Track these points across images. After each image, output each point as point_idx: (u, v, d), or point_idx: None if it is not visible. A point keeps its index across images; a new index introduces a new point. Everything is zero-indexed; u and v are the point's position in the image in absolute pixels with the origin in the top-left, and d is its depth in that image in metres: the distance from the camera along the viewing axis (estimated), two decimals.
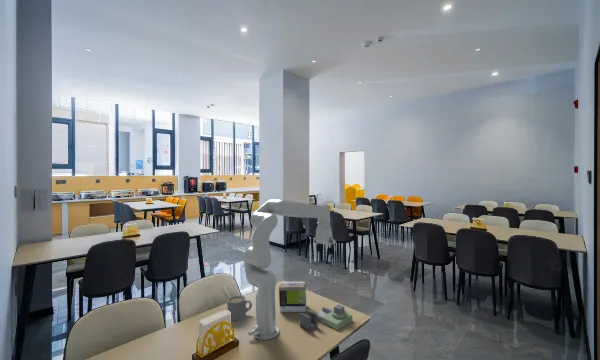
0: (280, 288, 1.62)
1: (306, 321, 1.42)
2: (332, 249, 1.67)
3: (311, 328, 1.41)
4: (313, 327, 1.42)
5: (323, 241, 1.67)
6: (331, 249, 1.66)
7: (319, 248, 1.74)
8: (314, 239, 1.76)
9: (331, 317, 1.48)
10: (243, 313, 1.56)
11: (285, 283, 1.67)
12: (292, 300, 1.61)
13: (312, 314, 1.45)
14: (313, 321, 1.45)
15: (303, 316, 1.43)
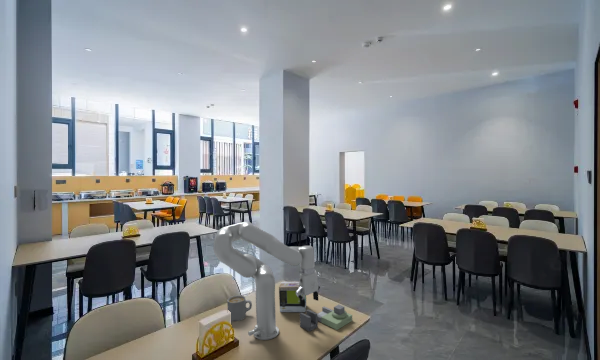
0: (280, 288, 1.62)
1: (306, 321, 1.42)
2: None
3: (311, 328, 1.41)
4: (313, 327, 1.42)
5: (314, 288, 1.44)
6: (317, 293, 1.49)
7: None
8: (298, 294, 1.39)
9: (331, 317, 1.48)
10: (243, 313, 1.56)
11: (285, 283, 1.67)
12: (292, 300, 1.61)
13: (312, 314, 1.45)
14: (313, 321, 1.45)
15: (303, 316, 1.43)
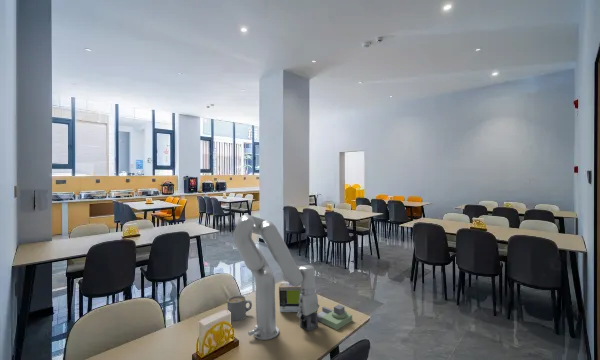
0: (280, 288, 1.62)
1: (306, 320, 1.42)
2: None
3: (311, 328, 1.41)
4: (313, 327, 1.42)
5: (314, 309, 1.44)
6: None
7: None
8: (299, 316, 1.40)
9: (331, 317, 1.48)
10: (243, 313, 1.56)
11: (285, 283, 1.67)
12: (292, 300, 1.61)
13: (312, 314, 1.45)
14: (313, 321, 1.45)
15: (303, 316, 1.43)
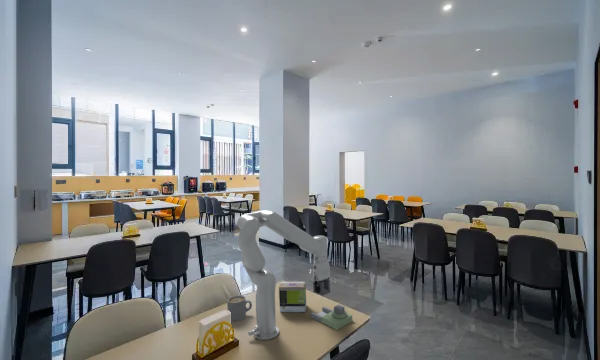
0: (280, 288, 1.62)
1: (320, 286, 1.52)
2: None
3: (324, 293, 1.52)
4: (326, 292, 1.53)
5: (327, 275, 1.55)
6: None
7: None
8: (313, 281, 1.51)
9: (331, 317, 1.48)
10: (243, 313, 1.56)
11: (285, 283, 1.67)
12: (292, 300, 1.61)
13: (325, 280, 1.56)
14: (326, 287, 1.56)
15: None
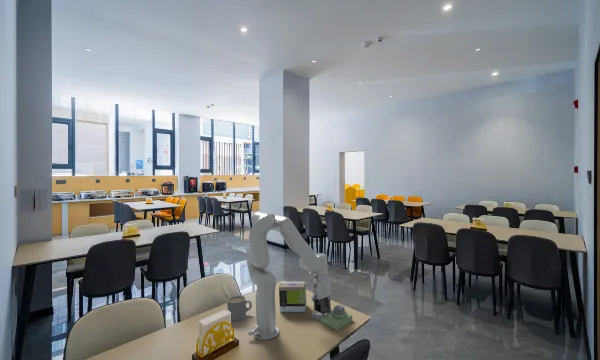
0: (280, 288, 1.62)
1: (320, 304, 1.52)
2: None
3: (325, 311, 1.52)
4: (326, 310, 1.53)
5: (327, 293, 1.55)
6: None
7: None
8: (314, 300, 1.51)
9: (331, 317, 1.48)
10: (243, 313, 1.56)
11: (285, 283, 1.67)
12: (292, 300, 1.61)
13: (325, 298, 1.56)
14: (326, 305, 1.56)
15: (317, 300, 1.54)
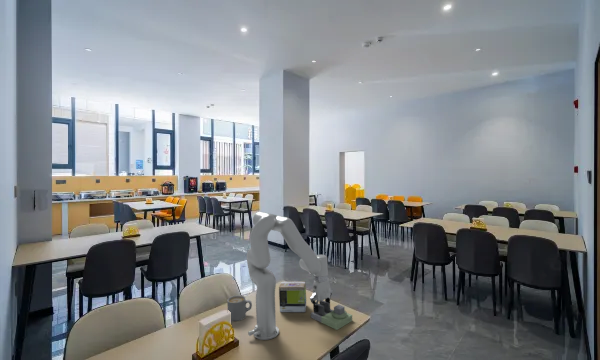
0: (280, 288, 1.62)
1: (320, 309, 1.52)
2: None
3: None
4: None
5: (327, 295, 1.55)
6: None
7: None
8: (312, 300, 1.50)
9: (331, 317, 1.48)
10: (243, 313, 1.56)
11: (285, 283, 1.67)
12: (292, 300, 1.61)
13: (325, 304, 1.56)
14: (326, 310, 1.56)
15: None
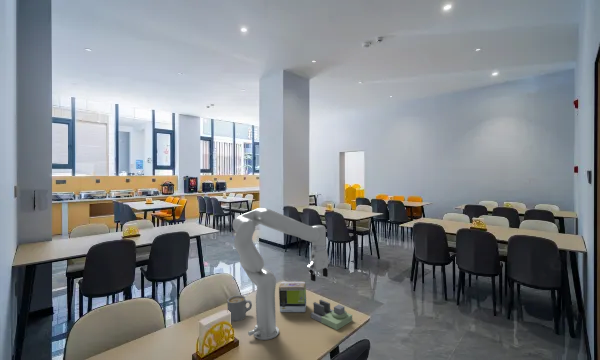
0: (280, 288, 1.62)
1: (320, 309, 1.52)
2: None
3: None
4: None
5: (325, 265, 1.55)
6: None
7: None
8: (309, 268, 1.50)
9: (331, 317, 1.48)
10: (243, 313, 1.56)
11: (285, 283, 1.67)
12: (292, 300, 1.61)
13: (325, 304, 1.56)
14: (326, 310, 1.56)
15: (317, 305, 1.54)
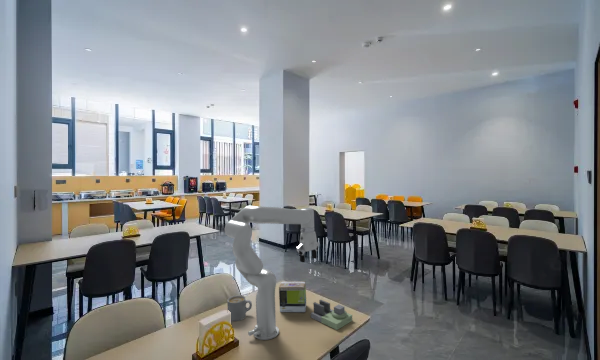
0: (280, 288, 1.62)
1: (320, 309, 1.52)
2: None
3: None
4: None
5: (313, 246, 1.59)
6: None
7: None
8: (298, 250, 1.54)
9: (331, 317, 1.48)
10: (243, 313, 1.56)
11: (285, 283, 1.67)
12: (292, 300, 1.61)
13: (325, 304, 1.56)
14: (326, 310, 1.56)
15: (317, 305, 1.54)
